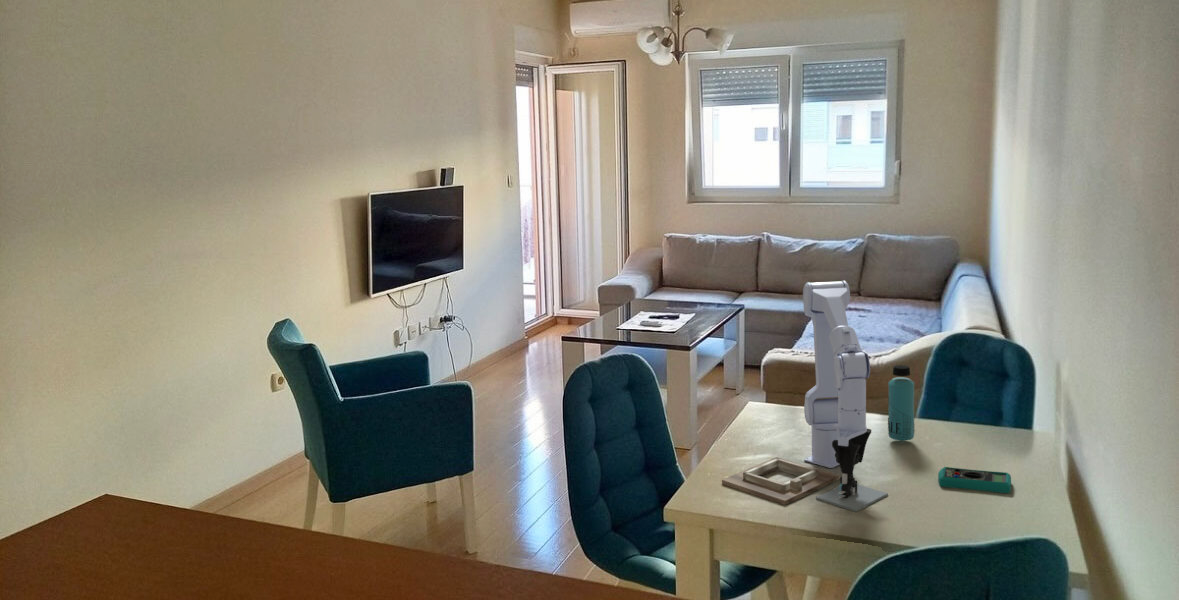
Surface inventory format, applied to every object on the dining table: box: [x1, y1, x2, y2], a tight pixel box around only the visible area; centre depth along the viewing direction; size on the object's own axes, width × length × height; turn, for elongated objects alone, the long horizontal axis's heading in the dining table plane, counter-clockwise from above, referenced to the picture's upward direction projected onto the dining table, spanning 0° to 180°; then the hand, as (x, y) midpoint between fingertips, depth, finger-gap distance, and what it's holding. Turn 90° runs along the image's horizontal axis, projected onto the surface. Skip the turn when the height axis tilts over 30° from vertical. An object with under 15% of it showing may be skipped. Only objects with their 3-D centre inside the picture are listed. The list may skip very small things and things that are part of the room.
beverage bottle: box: [887, 364, 916, 442], centre depth 230 cm, size 6×7×20 cm
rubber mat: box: [816, 483, 889, 513], centre depth 199 cm, size 12×10×1 cm
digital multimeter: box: [937, 466, 1012, 495], centre depth 203 cm, size 7×15×3 cm, turn 65°
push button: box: [835, 453, 860, 498], centre depth 198 cm, size 7×5×10 cm
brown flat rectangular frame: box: [721, 456, 841, 506], centre depth 210 cm, size 20×18×3 cm
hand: (852, 467), depth 198 cm, fingers open, 7 cm apart
